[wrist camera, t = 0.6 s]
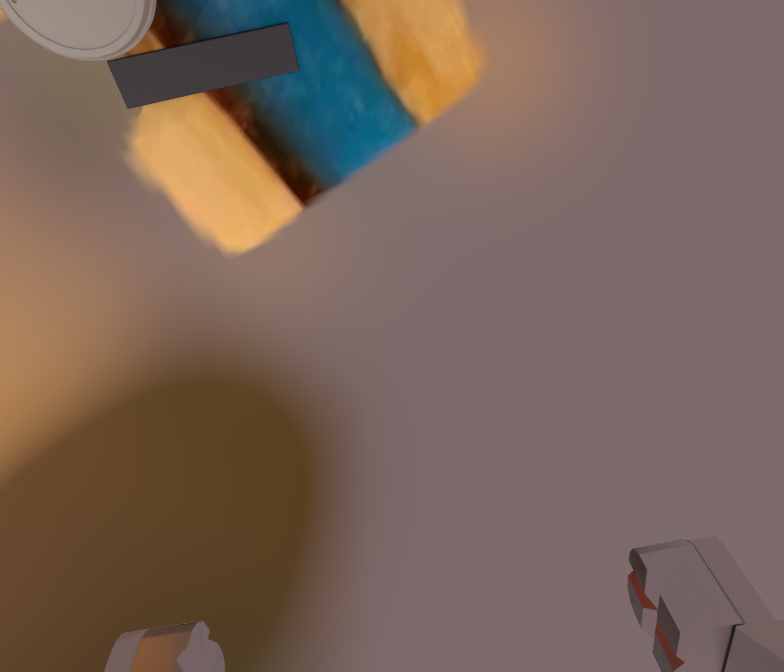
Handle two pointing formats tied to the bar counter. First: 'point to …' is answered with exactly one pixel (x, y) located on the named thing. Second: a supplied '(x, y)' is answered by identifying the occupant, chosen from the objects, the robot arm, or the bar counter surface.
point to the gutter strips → (204, 65)
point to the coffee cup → (83, 25)
